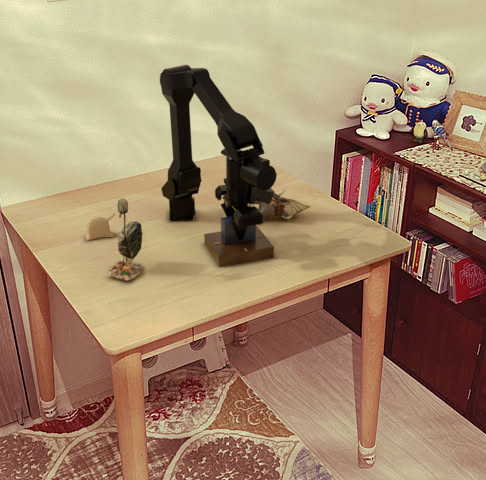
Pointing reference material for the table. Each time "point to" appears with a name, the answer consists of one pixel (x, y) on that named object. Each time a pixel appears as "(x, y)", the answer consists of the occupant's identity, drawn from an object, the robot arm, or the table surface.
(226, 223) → the blue block
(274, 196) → the figurine
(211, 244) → the brown slab
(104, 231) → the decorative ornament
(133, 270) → the plant with pod
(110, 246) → the table surface
